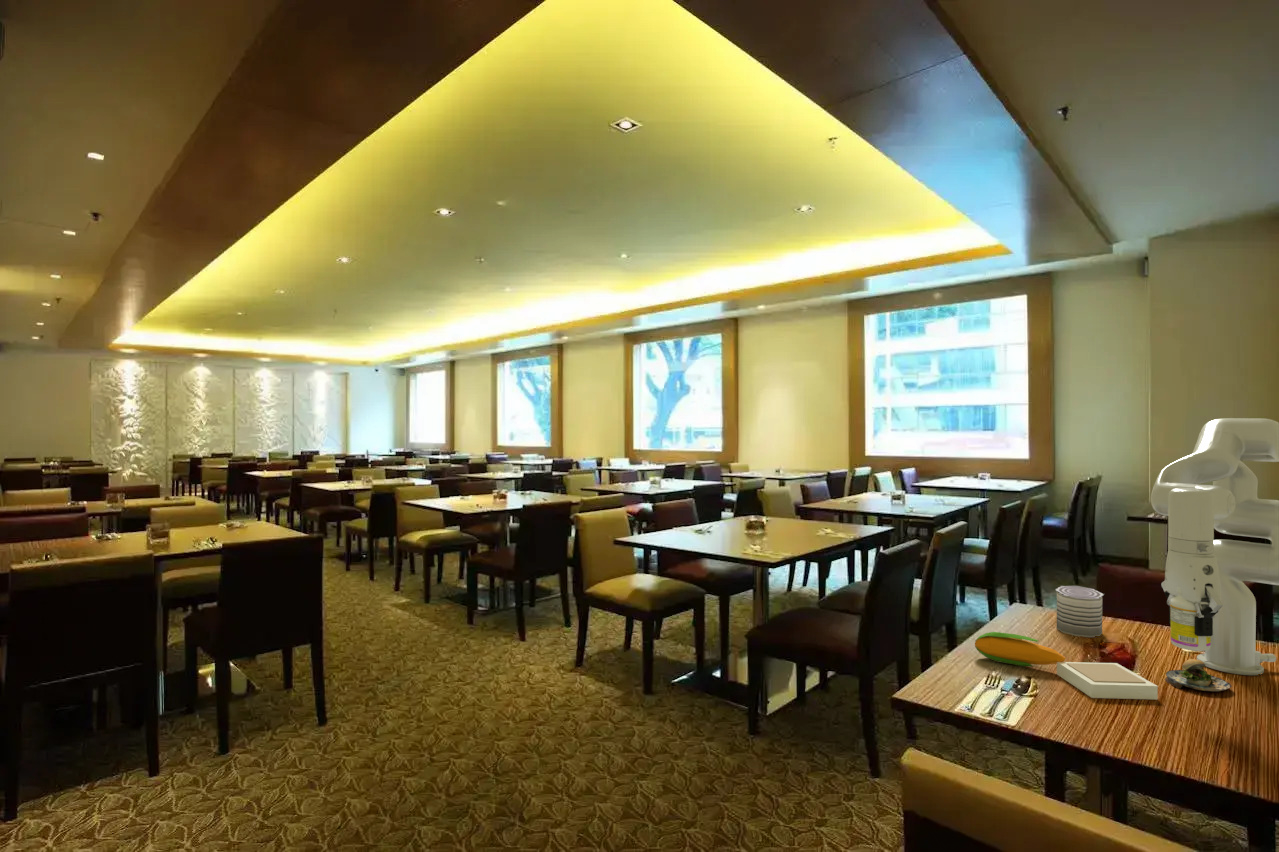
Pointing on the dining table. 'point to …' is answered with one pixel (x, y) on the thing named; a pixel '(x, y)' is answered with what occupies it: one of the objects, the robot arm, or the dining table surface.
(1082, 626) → the can
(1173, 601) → the supplement bottle
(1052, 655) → the corn
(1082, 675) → the base
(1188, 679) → the burger
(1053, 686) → the dining table surface
